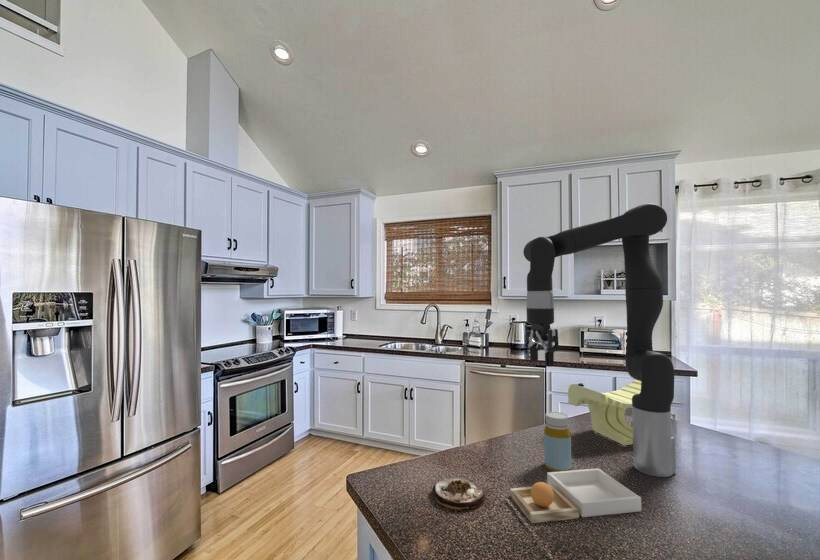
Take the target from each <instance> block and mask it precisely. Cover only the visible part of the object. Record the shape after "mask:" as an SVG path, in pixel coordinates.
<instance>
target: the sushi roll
mask: <svg viewBox="0 0 820 560" xmlns="http://www.w3.org/2000/svg"><path fill="white" fill-rule="evenodd" d="M432 493H433V496H434V501H435V502H436V504H438V505H439V507H442V508H444V509H447V510H450V511H453V512H455V511H459V510H461V512H466V511H467V512H468V513H470V512H471V510H474V509H477V508H478V509H479V511H481V510H482V509H483V508H484V506H483V505H484V504H485V501H486V493H485V490H484V489H483V487H482V486H481V484H479V483H478V482H477V481H476V480H473V481H472V480H470V479H469V478H468V477H460V476H459V477H457V476H455V477H449V478H445V479H441V480H439V481H437V482H435V484H434V485H433V488H432Z"/></svg>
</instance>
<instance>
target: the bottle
mask: <svg viewBox="0 0 820 560" xmlns="http://www.w3.org/2000/svg"><path fill="white" fill-rule="evenodd" d="M544 417H545V427H544V429H543V431H544V432H543V441H544V443H543V444H544V447H543V451H544V454H543V455H544V467H545V468H546V469H547V470H549V471H551V472H560V471H572V437H571V431H570V428H569V424H570V422H569V421H570V420H569V418H570V417H569V415H568V414H566V413H563V412H559V411H548V412H545V415H544Z"/></svg>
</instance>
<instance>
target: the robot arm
mask: <svg viewBox="0 0 820 560" xmlns="http://www.w3.org/2000/svg"><path fill="white" fill-rule="evenodd" d="M667 222H668V214H667V212H666V209H664V208H663V207H662V206H660V205H659V204H656V203H644V204H643V203H642V204H640V205H638V206H636V207H632V208H630V209H628V210H626V211H625V212H624V213H623V214H621V215H617V216H615V217H612V218H608V219H605V220H604V219H603V220H602V221H601V220H600V221H597V222H593V223H589V224H585V225H580V226H576V227H573V228H570V229H566V230H563V231H560V232H558V233H556V234H553V235H549V236H538V237H536V238H534V239H532V240H530V241H528V242H527V243H526V244H525V246H524V248H523V256H524V258H525V259H526V261H528V262H529V271H528V273H527V275H526V304H525V305H526V323H528V324H531V325H525V329H524V330H525V331H524V332H525V335H524V336H525V339H524V340H525V341H524V342H525V343H524V344H525V346H527V347H528V349H529V360H530V361H531V362H538V361H539V348H538V347H539V345H540V346H541V347H543V349H544V365H545V366H546V367H554V366H555V357H554V354H555V353H556V352H559V351H560V350H559V347H560V346H559V345H560V343H559V333H558V331H559V329H557V328H551V325H553V324H554V323H555V299H554V293H553V292H554V291H553V273H554V272H553V271H554V267H555V259H556V258H557V257H561V256H566V255H572V254H575V253H580V252H583V251H586V250H590V249H592V248H595V247H598V246H602V245H604V244H607V243H610V242H613V241H616V240H619V239H621V243H622V250H623V259H624V260H623V262H624V277H625V278H624V279H625V281H624V282H625V283H624V284H625V285H624V286H625V287H624V289H625V292H624V293H625V305H626V346H625V356H624V359H625V362H624V364H625V369H626V372H627V374H628V375H629V376H630V377H631V378H632V379H634V380H638V381H641V392H640V393H639V394H635V395H634V396H633V397H632V408H631V414H632V415H631V416H632V427H633V445H632V449H633V452H632V453H633V467H634V469H636V471H638V470H639V472H640V473H643V474H645V475H648V476H652V477H658V478H669V477H672V476H673V474H677V467H676V466H677V465H676V463H677V460H676V439H675V437H673V436H672V413H671V412H672V411H671V408H672V403H673V401H674V397H675V368H674V364H673V361H672V359H670V357H668V356H667V355H666V354H664V353H661V352H657V351H654V349H653V331H654V328H655V325H656V324H657V321H658V319H659V317H660V314H661V313H662V310H663V307H664V291H663V282H662V278H661V276H660V273H659V271H658V270H657V267H656V266H655V264H654V262H653V260H652V257H651V253H650V236H653V235H656V234H659V232H661V231H662V230H663V229H664V228H665V227H666V225H667Z"/></svg>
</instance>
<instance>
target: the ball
mask: <svg viewBox="0 0 820 560" xmlns="http://www.w3.org/2000/svg"><path fill="white" fill-rule="evenodd" d="M531 487H532V489H531V496H532V499H533V500H534V502H535V503H536V504H537V505H539V506H541V507H547V506H550V505H551V504H552V502H553V500H554V493H553V490H552V488H551V487H550V486H549V485H548V484H547V482H543V481H538V482H535V483H534V484H533V485H532V486H531Z"/></svg>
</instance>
